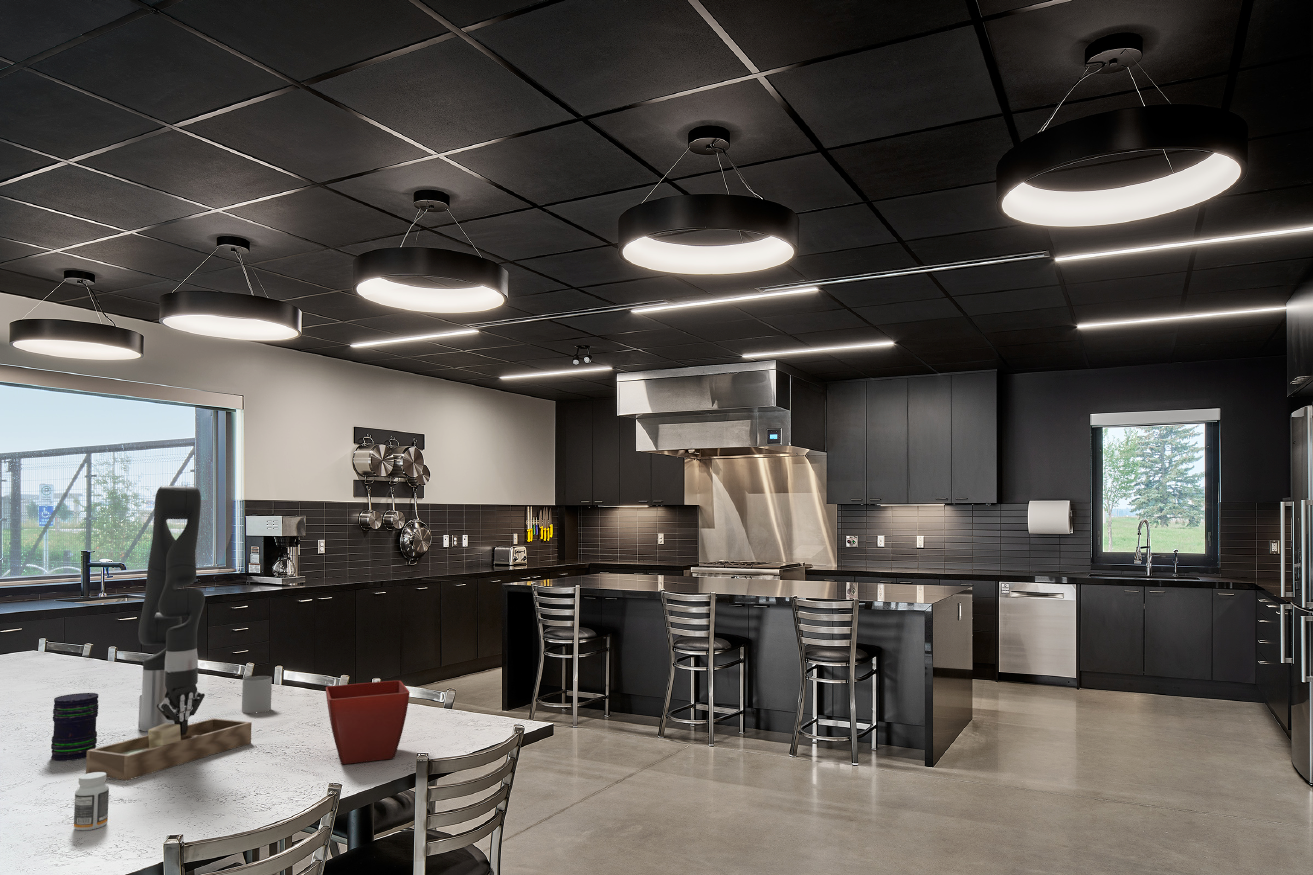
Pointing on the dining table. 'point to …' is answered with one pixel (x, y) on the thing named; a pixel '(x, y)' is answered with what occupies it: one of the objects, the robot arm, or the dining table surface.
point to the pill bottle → (91, 801)
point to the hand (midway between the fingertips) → (180, 734)
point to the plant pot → (367, 719)
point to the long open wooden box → (167, 749)
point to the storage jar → (74, 726)
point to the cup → (256, 694)
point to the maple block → (164, 735)
